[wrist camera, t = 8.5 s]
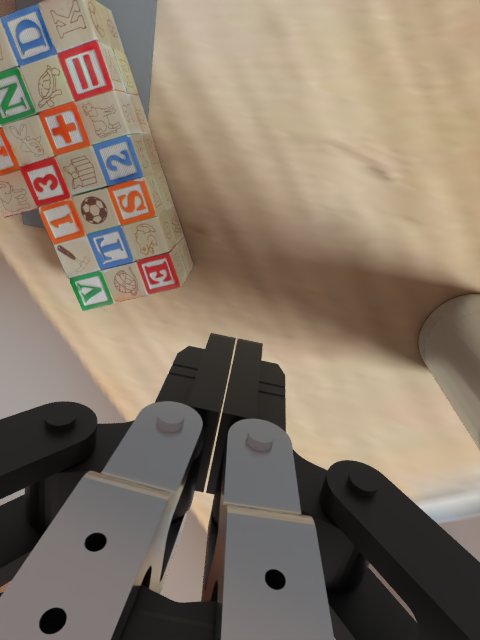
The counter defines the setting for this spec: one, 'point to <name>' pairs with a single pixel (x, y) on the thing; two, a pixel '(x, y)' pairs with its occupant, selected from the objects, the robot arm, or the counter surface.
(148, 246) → the stack of blocks
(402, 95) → the counter surface
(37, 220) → the mat
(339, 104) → the counter surface
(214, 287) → the counter surface
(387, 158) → the counter surface
